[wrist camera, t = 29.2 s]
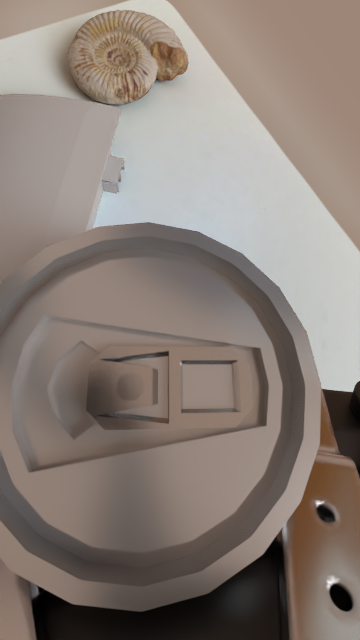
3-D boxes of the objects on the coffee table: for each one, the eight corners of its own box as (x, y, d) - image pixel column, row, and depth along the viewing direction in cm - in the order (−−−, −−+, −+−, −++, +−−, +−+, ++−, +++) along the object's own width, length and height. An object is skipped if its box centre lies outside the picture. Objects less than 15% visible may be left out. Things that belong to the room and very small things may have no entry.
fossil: (142, -6, 33) (195, 18, 29) (149, 51, 38) (196, 79, 33) (42, 27, 30) (85, 59, 26) (63, 85, 35) (102, 120, 30)
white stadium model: (142, 136, 32) (142, 101, 28) (89, 341, 26) (79, 332, 22) (0, 103, 31) (-21, 63, 27) (-89, 307, 25) (-130, 292, 22)
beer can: (197, 343, 16) (313, 217, 5) (200, 447, 15) (369, 615, 4) (98, 342, 16) (-36, 199, 4) (92, 450, 15) (-127, 661, 3)
